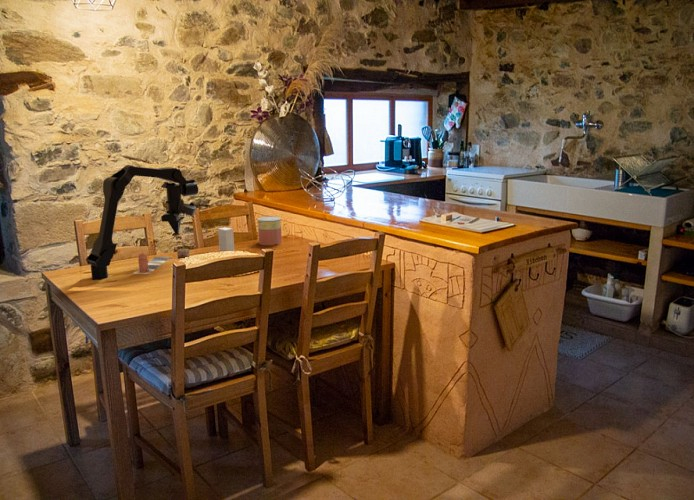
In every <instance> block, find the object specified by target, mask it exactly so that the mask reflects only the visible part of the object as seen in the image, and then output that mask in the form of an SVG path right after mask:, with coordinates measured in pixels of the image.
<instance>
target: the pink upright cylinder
mask: <svg viewBox="0 0 694 500" xmlns="http://www.w3.org/2000/svg"><path fill="white" fill-rule="evenodd" d="M148 260H149V259H148V256H147V254H146V253H144V252H143V253H140V254H139V255H138V260H137V261H138V270H139V271H140V272H141V273H145V272H148V271H149V270H148V262H149V261H148Z"/></svg>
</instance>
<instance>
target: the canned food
mask: <svg viewBox="0 0 694 500" xmlns="http://www.w3.org/2000/svg"><path fill="white" fill-rule="evenodd" d="M257 225H258V226H257V227H258V230H257V231H258V244H259V245H263V246H276V245H275V244H277V245H281V244H282V243H283V241H282V239H283V237H282V217H280V216H262V217H259V218H257ZM280 243H281V244H280Z"/></svg>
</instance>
